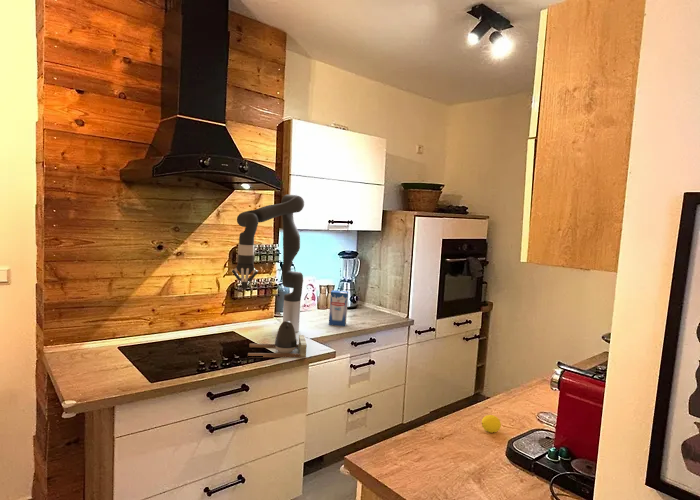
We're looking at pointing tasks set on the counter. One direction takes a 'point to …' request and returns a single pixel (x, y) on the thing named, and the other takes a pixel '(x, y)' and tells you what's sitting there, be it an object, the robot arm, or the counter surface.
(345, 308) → the milk carton
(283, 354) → the track
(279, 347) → the dark grey rounded cone
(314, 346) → the counter surface
